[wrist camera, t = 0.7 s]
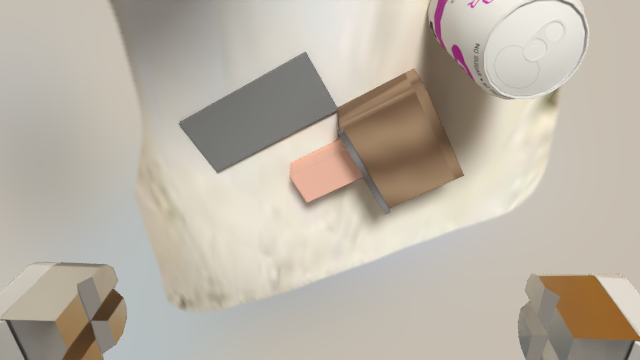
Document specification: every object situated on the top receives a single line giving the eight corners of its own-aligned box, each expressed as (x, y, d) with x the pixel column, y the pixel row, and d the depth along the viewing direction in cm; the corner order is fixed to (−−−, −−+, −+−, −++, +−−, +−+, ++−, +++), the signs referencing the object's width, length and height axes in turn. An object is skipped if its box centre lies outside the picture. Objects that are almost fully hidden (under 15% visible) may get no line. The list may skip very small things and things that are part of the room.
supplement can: (466, 65, 45) (525, 127, 33) (409, 14, 43) (449, 60, 30) (529, 0, 42) (623, 40, 29) (472, -60, 39) (548, -44, 26)
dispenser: (335, 108, 48) (338, 135, 42) (413, 68, 45) (427, 90, 40) (377, 182, 53) (385, 214, 47) (449, 149, 51) (466, 179, 45)
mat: (180, 121, 48) (178, 124, 48) (305, 51, 44) (305, 53, 44) (217, 169, 52) (216, 171, 51) (337, 107, 48) (337, 109, 47)
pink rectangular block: (291, 161, 52) (289, 176, 49) (400, 107, 48) (405, 121, 45) (307, 186, 53) (307, 202, 50) (413, 136, 50) (419, 150, 47)
